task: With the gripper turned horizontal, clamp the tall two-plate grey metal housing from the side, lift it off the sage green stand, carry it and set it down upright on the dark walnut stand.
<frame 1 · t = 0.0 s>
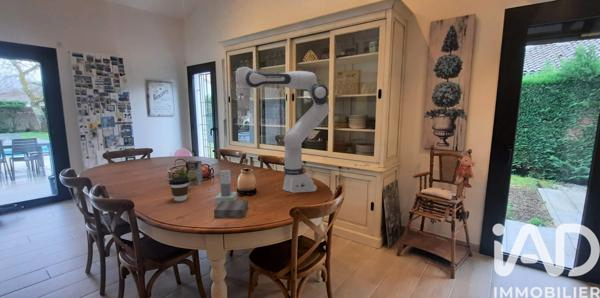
hand: (244, 115, 176), 48 cm above the table, tool pointing down, fingers open, 8 cm apart
house plant: (182, 190, 181), on the table
coffee box: (194, 184, 197), on the table
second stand: (232, 212, 143), on the table
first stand: (226, 201, 160), on the table
coffee cup: (180, 200, 164), on the table
housing: (226, 194, 159), point 4 cm above the table, touching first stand
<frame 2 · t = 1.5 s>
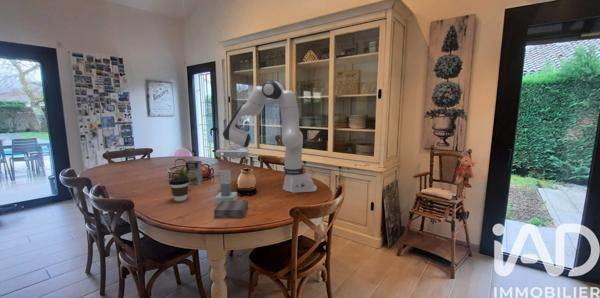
hand: (229, 155, 168), 25 cm above the table, tool horizontal, fingers open, 8 cm apart
nothing on the table moved.
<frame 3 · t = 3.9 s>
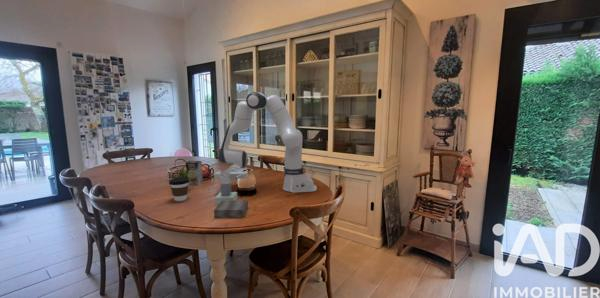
hand: (228, 178, 165), 12 cm above the table, tool horizontal, fingers open, 8 cm apart
nothing on the table moved.
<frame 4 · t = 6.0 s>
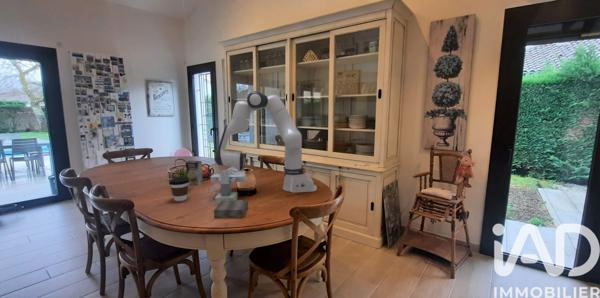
hand: (225, 181, 157), 12 cm above the table, tool horizontal, fingers closed on housing, 5 cm apart
housing: (226, 194, 159), point 4 cm above the table, touching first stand, gripper
everything else where it was.
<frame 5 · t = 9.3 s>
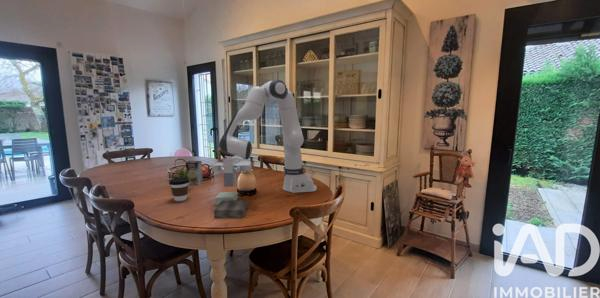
hand: (228, 170, 140), 22 cm above the table, tool horizontal, fingers closed on housing, 5 cm apart
housing: (229, 185, 142), point 14 cm above the table, touching gripper
everything else where it was.
when the fingers open (13 cm above the table, at t = 12.3 s): housing drops 1 cm, resting on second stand.
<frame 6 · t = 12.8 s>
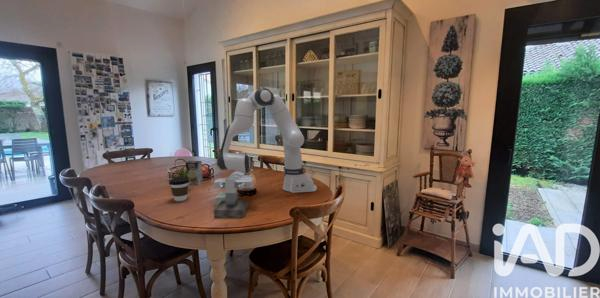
hand: (230, 187, 140), 13 cm above the table, tool horizontal, fingers open, 8 cm apart
housing: (231, 204, 142), point 4 cm above the table, touching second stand
everything else where it was.
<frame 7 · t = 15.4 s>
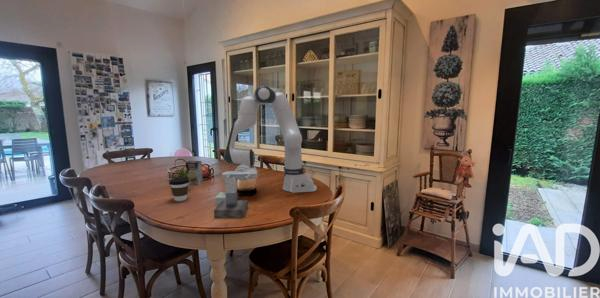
hand: (237, 178, 154), 14 cm above the table, tool horizontal, fingers open, 8 cm apart
nothing on the table moved.
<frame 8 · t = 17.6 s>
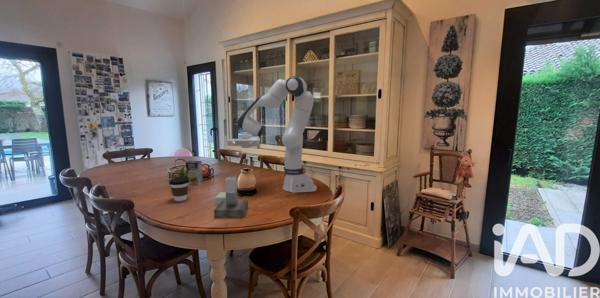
hand: (241, 144, 164), 32 cm above the table, tool horizontal, fingers open, 8 cm apart
nothing on the table moved.
at the end: housing inside the target area on the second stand (0.1 cm from its centre), point 4.0 cm above the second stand's base; housing tilted 0°; the gripper is holding nothing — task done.
